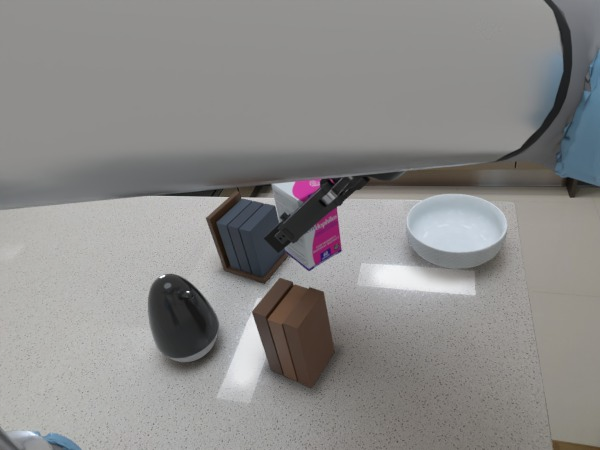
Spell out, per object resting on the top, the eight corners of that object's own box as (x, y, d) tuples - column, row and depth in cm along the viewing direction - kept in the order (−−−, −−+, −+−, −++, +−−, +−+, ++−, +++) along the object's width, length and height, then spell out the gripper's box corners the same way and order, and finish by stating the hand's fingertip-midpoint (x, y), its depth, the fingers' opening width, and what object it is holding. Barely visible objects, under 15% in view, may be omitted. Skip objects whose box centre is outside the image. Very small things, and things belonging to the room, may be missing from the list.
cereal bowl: (510, 285, 75) (515, 252, 71) (405, 282, 79) (404, 251, 75) (496, 221, 88) (500, 190, 84) (407, 222, 92) (406, 193, 88)
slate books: (264, 283, 84) (249, 229, 77) (223, 270, 89) (205, 217, 82) (290, 253, 90) (278, 199, 82) (250, 242, 95) (235, 190, 87)
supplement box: (310, 273, 59) (295, 200, 53) (284, 253, 64) (268, 182, 57) (344, 252, 62) (334, 179, 55) (317, 233, 66) (305, 164, 59)
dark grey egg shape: (197, 382, 69) (163, 315, 60) (150, 358, 75) (113, 293, 66) (238, 333, 76) (213, 265, 67) (192, 314, 81) (163, 249, 72)
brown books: (312, 388, 66) (297, 328, 58) (270, 370, 69) (251, 311, 61) (334, 351, 70) (323, 291, 62) (294, 336, 74) (279, 277, 66)
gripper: (381, 215, 39) (266, 295, 56) (455, 113, 51) (342, 205, 69) (318, 151, 38) (222, 252, 56) (408, 64, 51) (306, 169, 69)
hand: (288, 226), depth 62 cm, fingers closed on supplement box, 7 cm apart
